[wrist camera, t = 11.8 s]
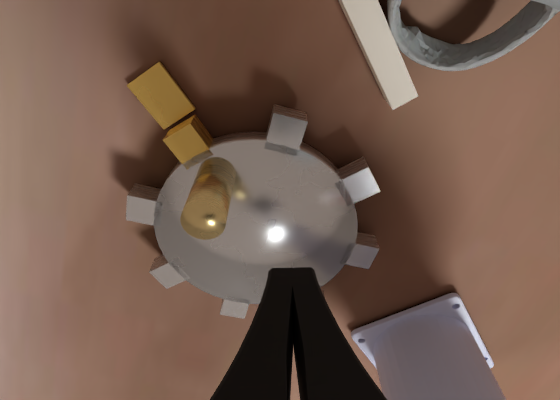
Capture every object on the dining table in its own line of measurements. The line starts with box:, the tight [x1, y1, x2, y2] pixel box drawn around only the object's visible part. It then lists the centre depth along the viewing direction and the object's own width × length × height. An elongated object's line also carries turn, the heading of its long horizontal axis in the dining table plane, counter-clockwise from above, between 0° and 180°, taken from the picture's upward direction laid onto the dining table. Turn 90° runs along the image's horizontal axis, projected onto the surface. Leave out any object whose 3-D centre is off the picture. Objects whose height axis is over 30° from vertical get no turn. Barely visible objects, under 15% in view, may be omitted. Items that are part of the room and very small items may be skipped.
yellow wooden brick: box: [127, 61, 196, 129], centre depth 20 cm, size 12×4×1 cm, turn 32°
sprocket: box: [126, 104, 381, 319], centre depth 19 cm, size 14×14×5 cm
